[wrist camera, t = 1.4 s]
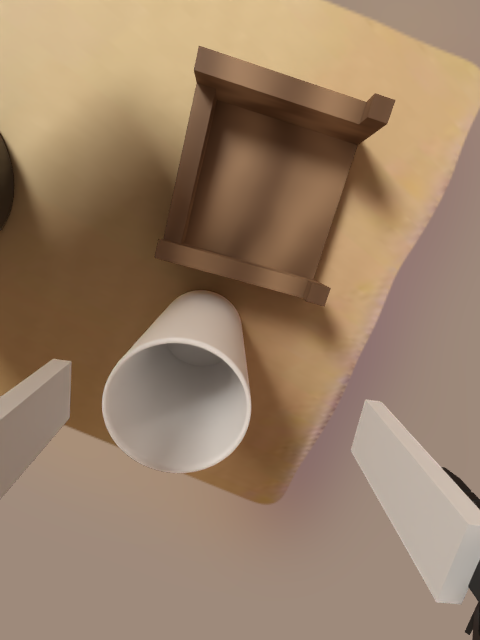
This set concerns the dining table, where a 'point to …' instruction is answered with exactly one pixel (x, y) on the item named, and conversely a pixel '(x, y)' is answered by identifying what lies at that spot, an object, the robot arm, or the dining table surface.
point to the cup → (182, 387)
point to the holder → (263, 174)
